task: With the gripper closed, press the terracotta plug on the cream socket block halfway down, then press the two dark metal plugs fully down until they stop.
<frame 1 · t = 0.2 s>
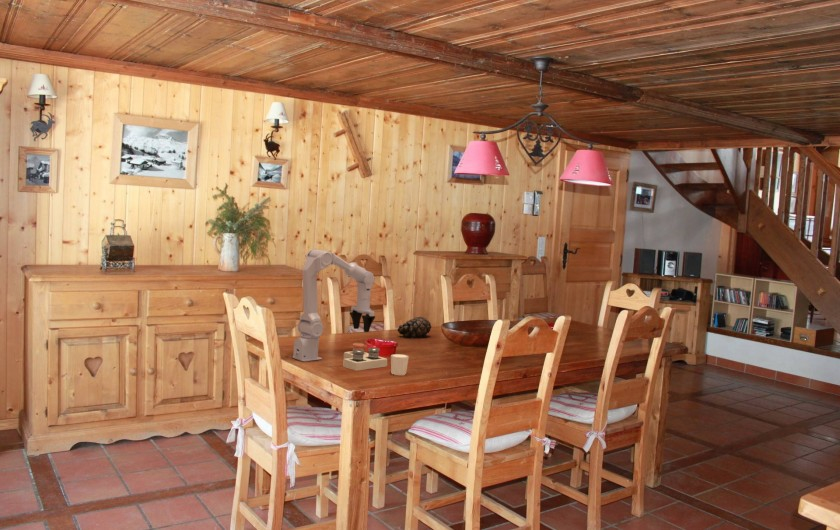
hand: (361, 330, 305), 10 cm above the table, tool pointing down, fingers open, 7 cm apart
terracotta plug: (358, 349, 291), point 5 cm above the table, slide at 0.0 cm
metal plug right: (373, 354, 284), point 5 cm above the table, slide at 0.0 cm
metal plug left: (358, 355, 278), point 5 cm above the table, slide at 0.0 cm
socket block: (357, 363, 285), on the table
pine cone: (414, 337, 353), on the table
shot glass: (398, 374, 274), on the table
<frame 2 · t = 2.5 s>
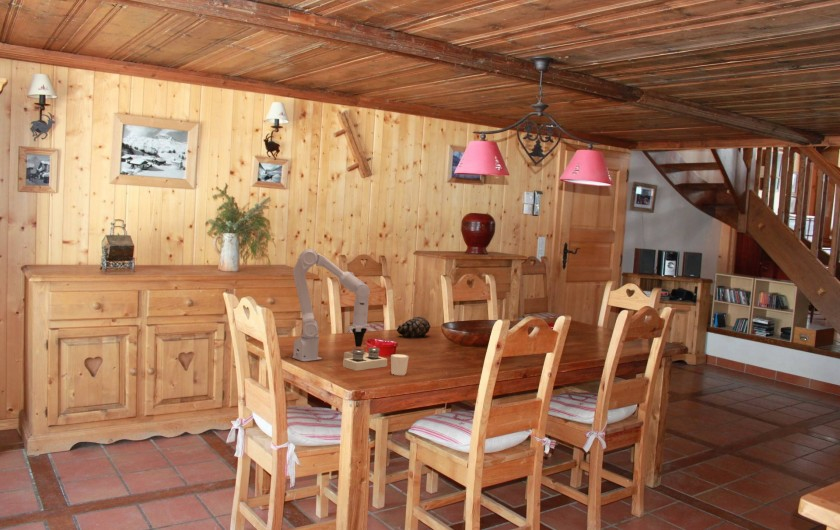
hand: (358, 346, 291), 6 cm above the table, tool pointing down, fingers closed, pressing on terracotta plug
terracotta plug: (358, 351, 291), point 4 cm above the table, slide at -0.9 cm, touching gripper
everything else where it was.
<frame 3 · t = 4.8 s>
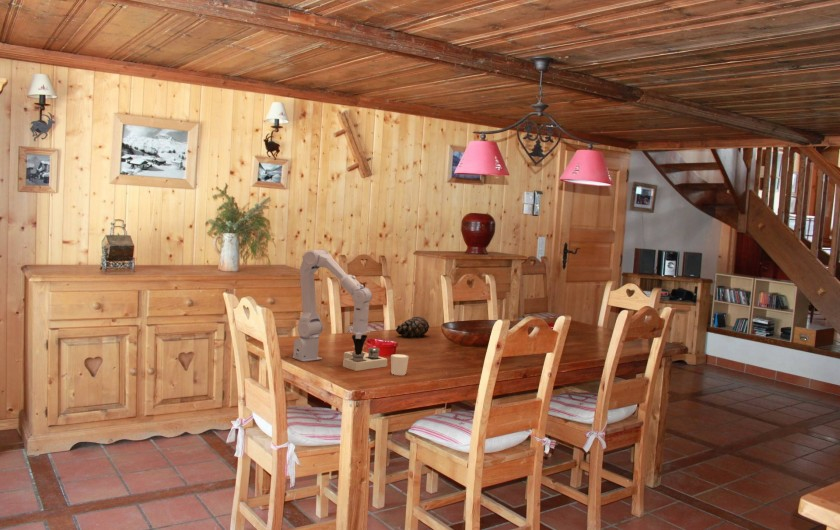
hand: (358, 353, 278), 5 cm above the table, tool pointing down, fingers closed, pressing on metal plug left
terracotta plug: (358, 351, 291), point 4 cm above the table, slide at -0.9 cm
metal plug left: (357, 359, 279), point 3 cm above the table, slide at -1.3 cm, touching gripper
everything else where it was.
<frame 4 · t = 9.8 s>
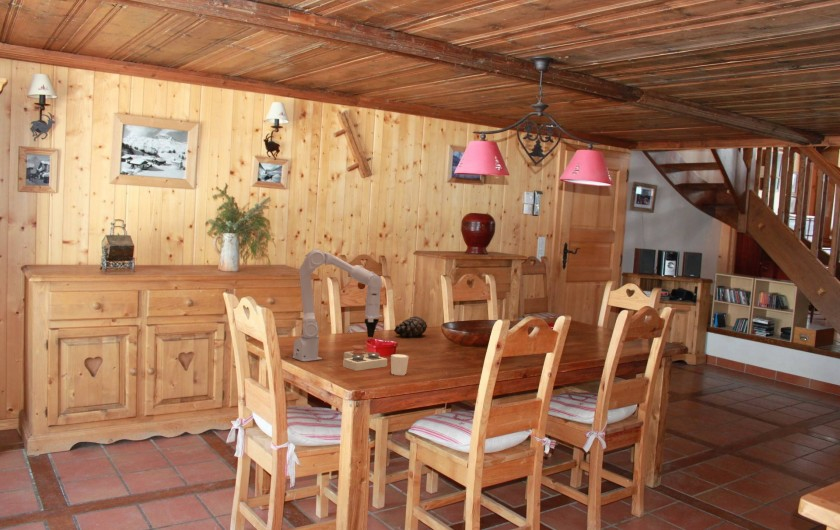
hand: (370, 336, 291), 10 cm above the table, tool pointing down, fingers closed
metal plug right: (373, 359, 284), point 3 cm above the table, slide at -2.0 cm
metal plug left: (357, 361, 279), point 3 cm above the table, slide at -2.0 cm
at the end: terracotta plug slide at -0.9 cm; metal plug left slide at -2.0 cm; metal plug right slide at -2.0 cm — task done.
